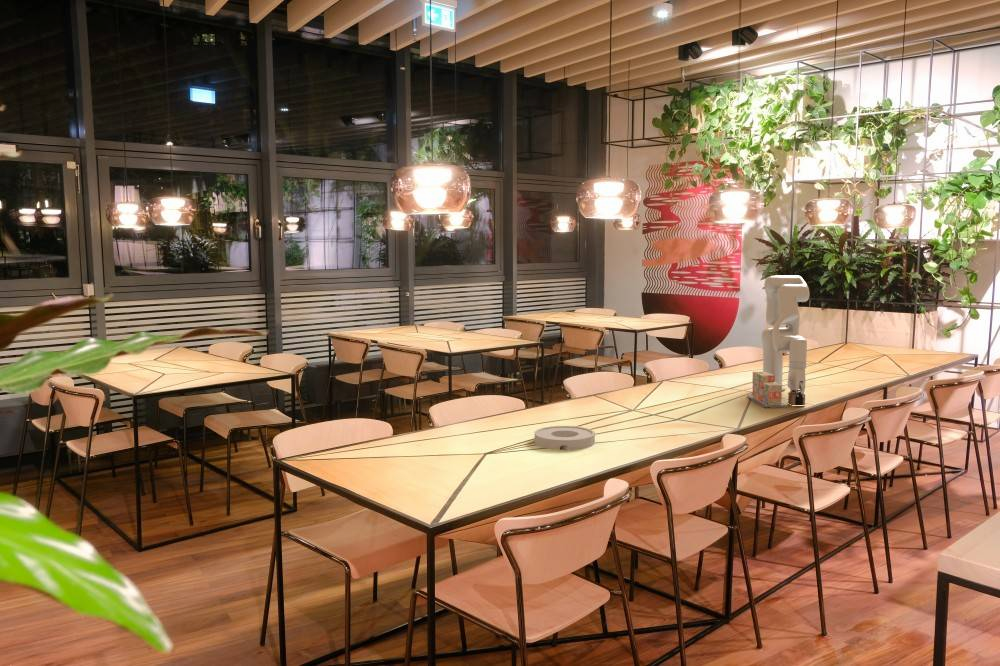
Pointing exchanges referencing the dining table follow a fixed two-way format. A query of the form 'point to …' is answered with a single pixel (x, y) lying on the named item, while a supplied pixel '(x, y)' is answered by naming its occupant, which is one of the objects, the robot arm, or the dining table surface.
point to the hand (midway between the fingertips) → (796, 403)
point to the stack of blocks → (766, 388)
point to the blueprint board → (764, 403)
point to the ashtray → (564, 437)
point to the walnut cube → (794, 398)
